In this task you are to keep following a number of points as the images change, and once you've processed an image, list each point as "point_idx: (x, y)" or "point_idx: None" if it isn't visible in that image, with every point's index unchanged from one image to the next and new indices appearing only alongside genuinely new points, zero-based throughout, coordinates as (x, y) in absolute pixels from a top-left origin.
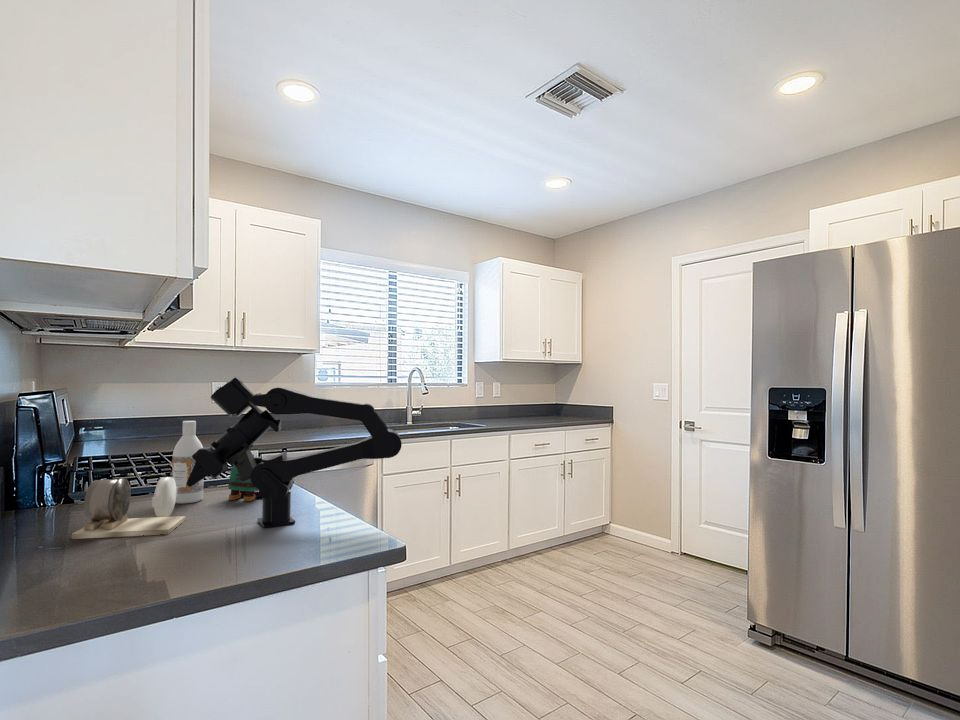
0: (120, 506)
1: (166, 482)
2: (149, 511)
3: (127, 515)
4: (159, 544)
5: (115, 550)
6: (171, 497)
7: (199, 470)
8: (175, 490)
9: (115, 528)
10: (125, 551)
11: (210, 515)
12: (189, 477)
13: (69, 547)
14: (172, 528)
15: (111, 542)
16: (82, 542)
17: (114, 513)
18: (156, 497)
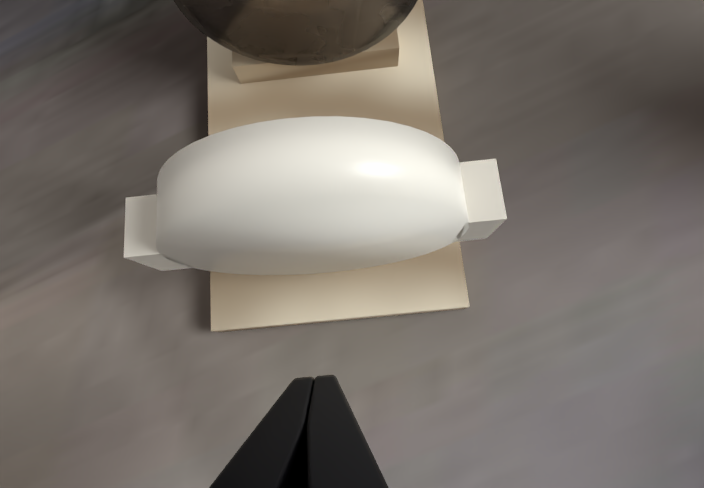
0: (290, 15)
1: (191, 220)
2: (648, 54)
3: (398, 50)
4: (67, 359)
5: (27, 216)
6: (358, 247)
7: None
8: (447, 229)
9: (261, 86)
10: (3, 261)
11: (580, 407)
12: (253, 434)
13: (109, 38)
14: (267, 326)
15: (142, 147)
16: (164, 46)
17: (224, 38)
18: (126, 226)
